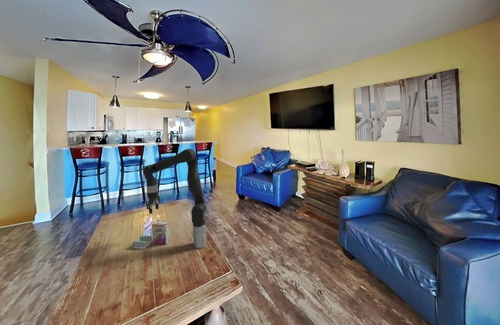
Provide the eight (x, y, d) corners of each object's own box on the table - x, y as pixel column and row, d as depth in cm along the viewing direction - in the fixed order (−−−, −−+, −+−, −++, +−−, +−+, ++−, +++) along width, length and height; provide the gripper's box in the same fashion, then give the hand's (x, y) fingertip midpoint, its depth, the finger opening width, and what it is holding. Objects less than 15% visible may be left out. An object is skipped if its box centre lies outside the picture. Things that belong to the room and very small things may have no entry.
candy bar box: (152, 243, 147) (151, 224, 145) (156, 240, 152) (155, 221, 150) (166, 245, 146) (165, 225, 144) (169, 241, 151) (168, 222, 149)
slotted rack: (141, 241, 150) (140, 235, 150) (152, 242, 150) (151, 235, 149) (133, 248, 141) (132, 241, 140) (144, 248, 141) (144, 242, 140)
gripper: (151, 193, 136) (153, 215, 138) (162, 188, 150) (163, 207, 152) (141, 193, 136) (143, 215, 139) (153, 188, 150) (154, 207, 153)
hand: (154, 211), depth 146 cm, fingers open, 8 cm apart
